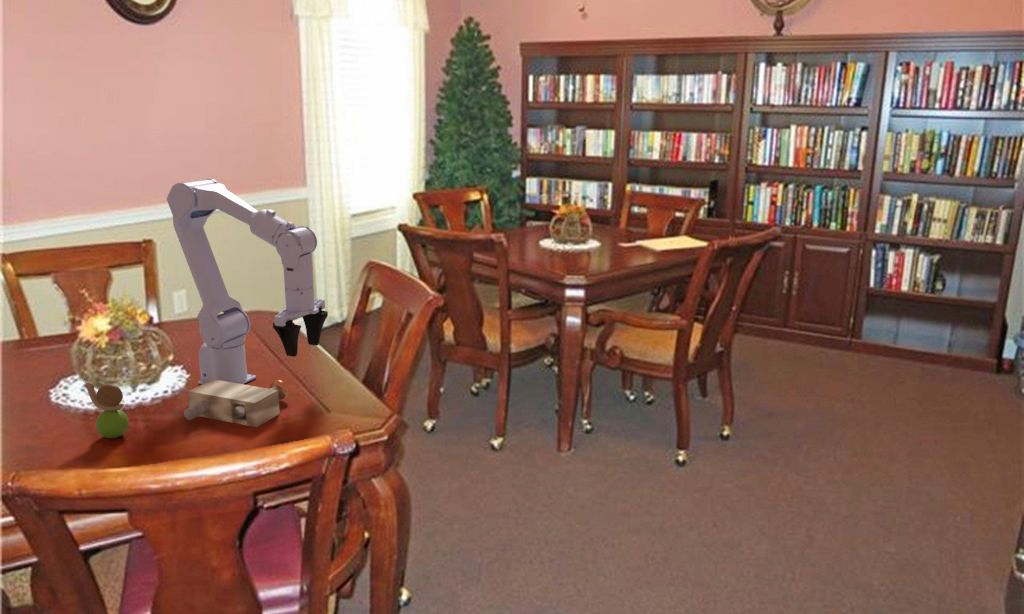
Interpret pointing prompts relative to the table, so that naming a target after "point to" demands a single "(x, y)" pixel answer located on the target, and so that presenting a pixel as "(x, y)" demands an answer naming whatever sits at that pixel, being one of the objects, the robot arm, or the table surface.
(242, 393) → the beige block with pegs
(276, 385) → the lynch pin
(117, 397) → the snail figurine
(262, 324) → the table surface
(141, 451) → the table surface
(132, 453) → the table surface
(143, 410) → the table surface
